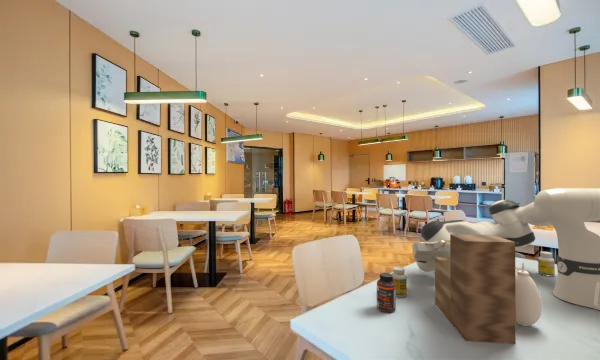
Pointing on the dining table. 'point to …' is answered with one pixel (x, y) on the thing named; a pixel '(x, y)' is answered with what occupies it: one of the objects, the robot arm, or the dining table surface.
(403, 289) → the supplement bottle
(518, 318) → the sauce bottle
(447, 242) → the lever cap
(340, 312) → the dining table surface
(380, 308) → the supplement bottle
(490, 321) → the stepped stand
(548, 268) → the supplement bottle
